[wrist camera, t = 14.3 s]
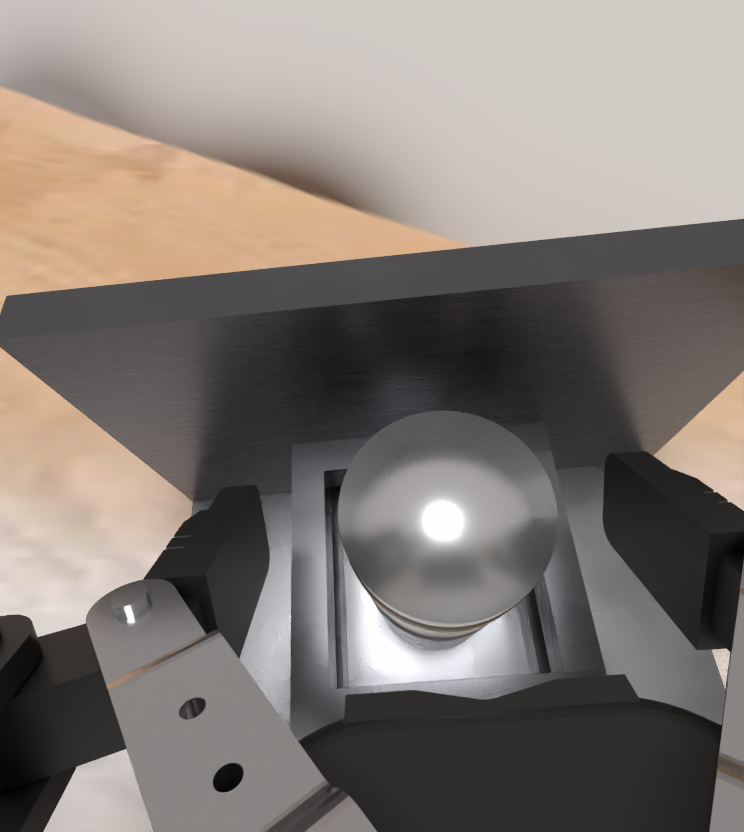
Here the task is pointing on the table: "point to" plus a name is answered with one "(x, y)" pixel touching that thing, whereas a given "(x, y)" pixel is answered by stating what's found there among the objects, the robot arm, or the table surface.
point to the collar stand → (404, 396)
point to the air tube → (446, 524)
